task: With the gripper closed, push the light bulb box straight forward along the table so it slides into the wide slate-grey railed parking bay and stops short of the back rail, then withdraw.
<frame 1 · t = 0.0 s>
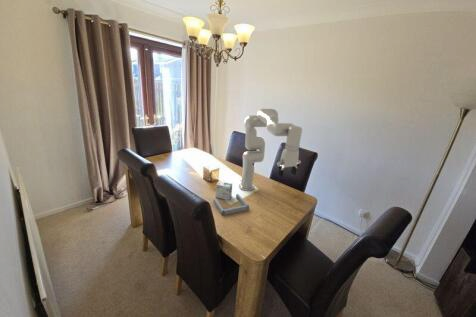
hand: (286, 174, 122), 31 cm above the table, fingers open, 9 cm apart
dock: (230, 205, 142), on the table
light bulb box: (223, 196, 153), on the table
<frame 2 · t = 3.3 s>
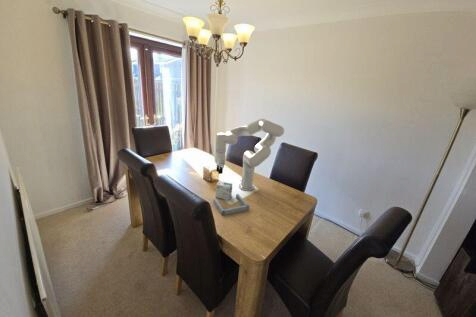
hand: (219, 172, 157), 15 cm above the table, fingers open, 3 cm apart
nothing on the table moved.
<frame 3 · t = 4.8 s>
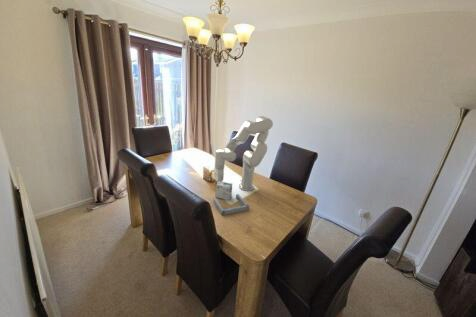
hand: (217, 187, 161), 2 cm above the table, fingers closed
nothing on the table moved.
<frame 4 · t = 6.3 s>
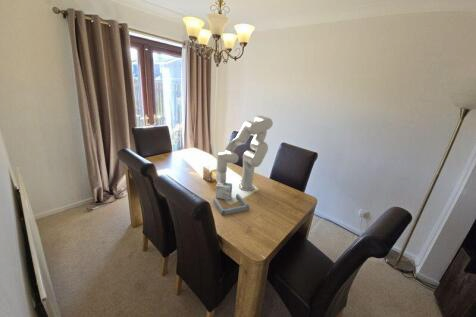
hand: (220, 190, 158), 2 cm above the table, fingers closed
light bulb box: (223, 196, 152), on the table, touching gripper
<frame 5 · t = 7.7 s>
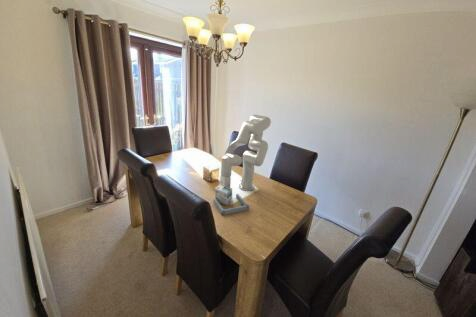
hand: (224, 195, 151), 1 cm above the table, fingers closed
light bulb box: (223, 201, 146), on the table, touching gripper
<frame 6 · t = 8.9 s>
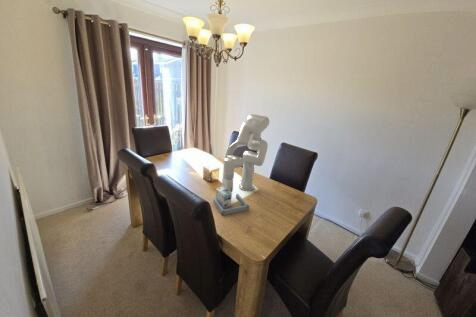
hand: (226, 198, 148), 1 cm above the table, fingers closed
light bulb box: (222, 204, 143), on the table, touching dock, gripper
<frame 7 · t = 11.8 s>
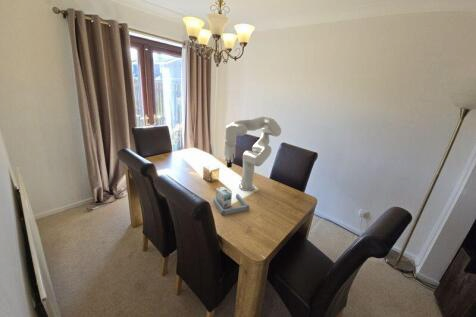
hand: (229, 167, 147), 23 cm above the table, fingers closed
light bulb box: (222, 204, 143), on the table
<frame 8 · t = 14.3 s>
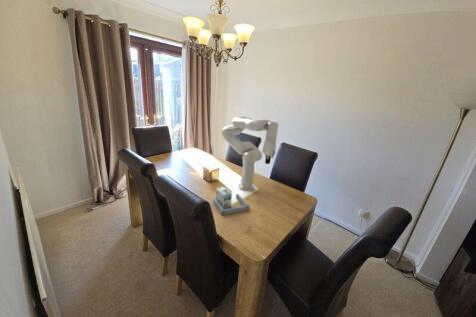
hand: (267, 163, 150), 27 cm above the table, fingers closed
nothing on the table moved.
at the end: light bulb box inside the target area on the dock (6.0 cm from its centre), point 0.0 cm above the dock's base; light bulb box tilted 0°; light bulb box moved 10.0 cm from its start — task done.
